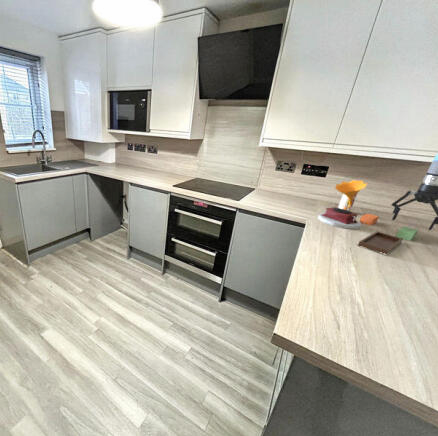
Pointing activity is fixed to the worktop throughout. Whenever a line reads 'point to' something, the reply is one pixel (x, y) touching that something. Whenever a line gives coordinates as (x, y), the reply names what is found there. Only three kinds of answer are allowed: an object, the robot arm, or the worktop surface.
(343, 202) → the aerosol can
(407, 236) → the pad
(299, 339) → the worktop surface
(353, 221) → the gramophone
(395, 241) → the frame
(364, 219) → the pad
